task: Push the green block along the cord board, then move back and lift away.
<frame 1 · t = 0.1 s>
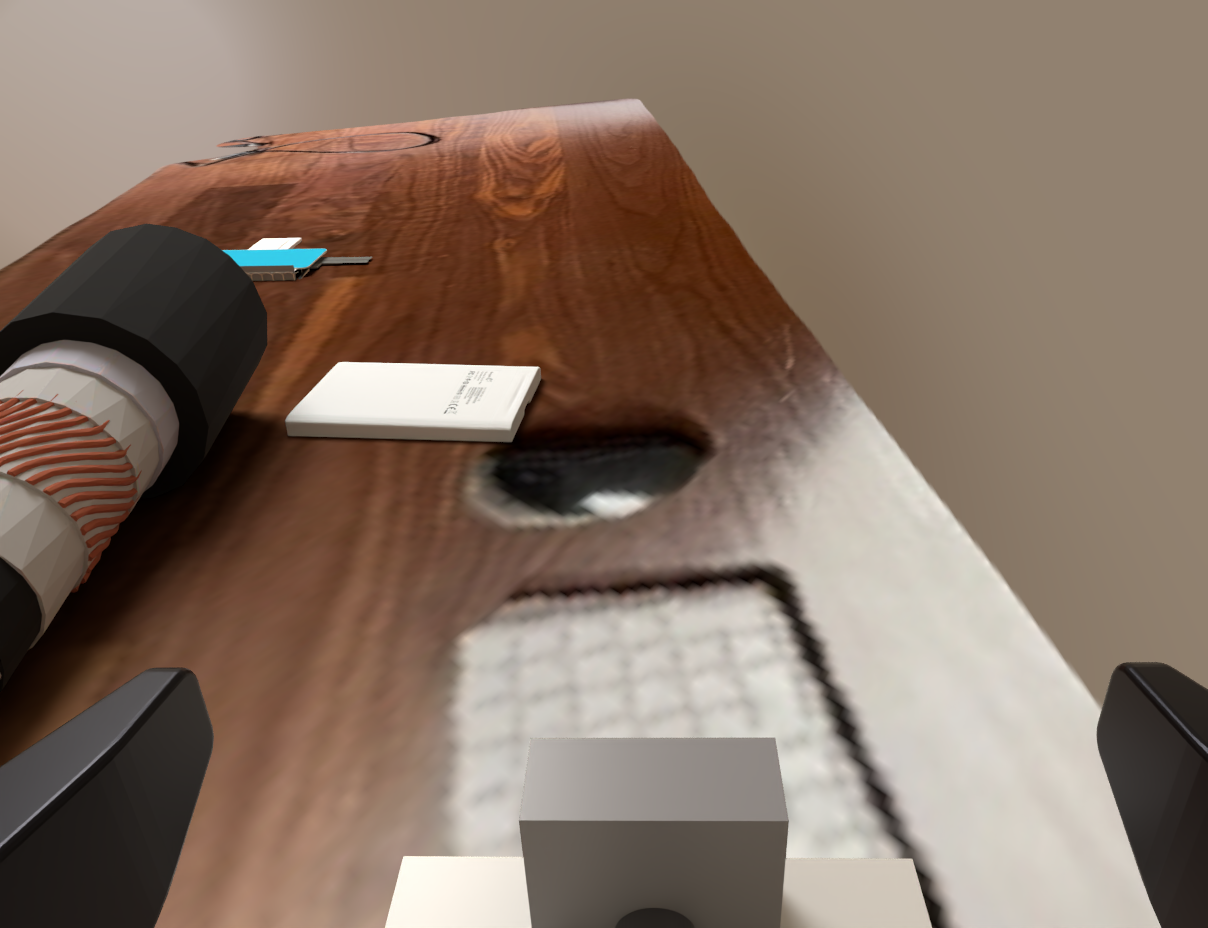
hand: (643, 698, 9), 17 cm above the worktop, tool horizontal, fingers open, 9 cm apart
banded black grey cylinder: (58, 592, 40), on the worktop
phone stand: (258, 268, 81), on the worktop
external hard drive: (422, 417, 55), on the worktop
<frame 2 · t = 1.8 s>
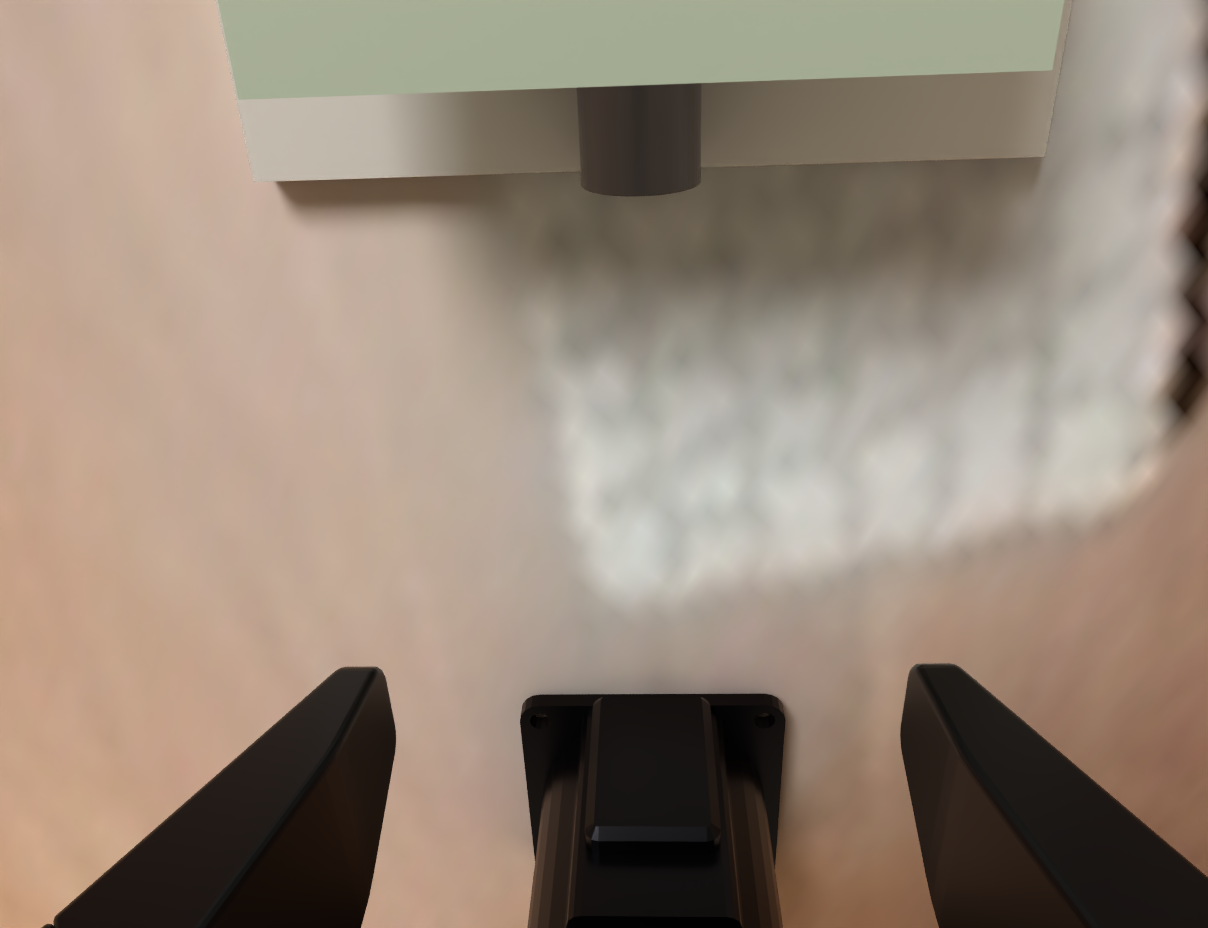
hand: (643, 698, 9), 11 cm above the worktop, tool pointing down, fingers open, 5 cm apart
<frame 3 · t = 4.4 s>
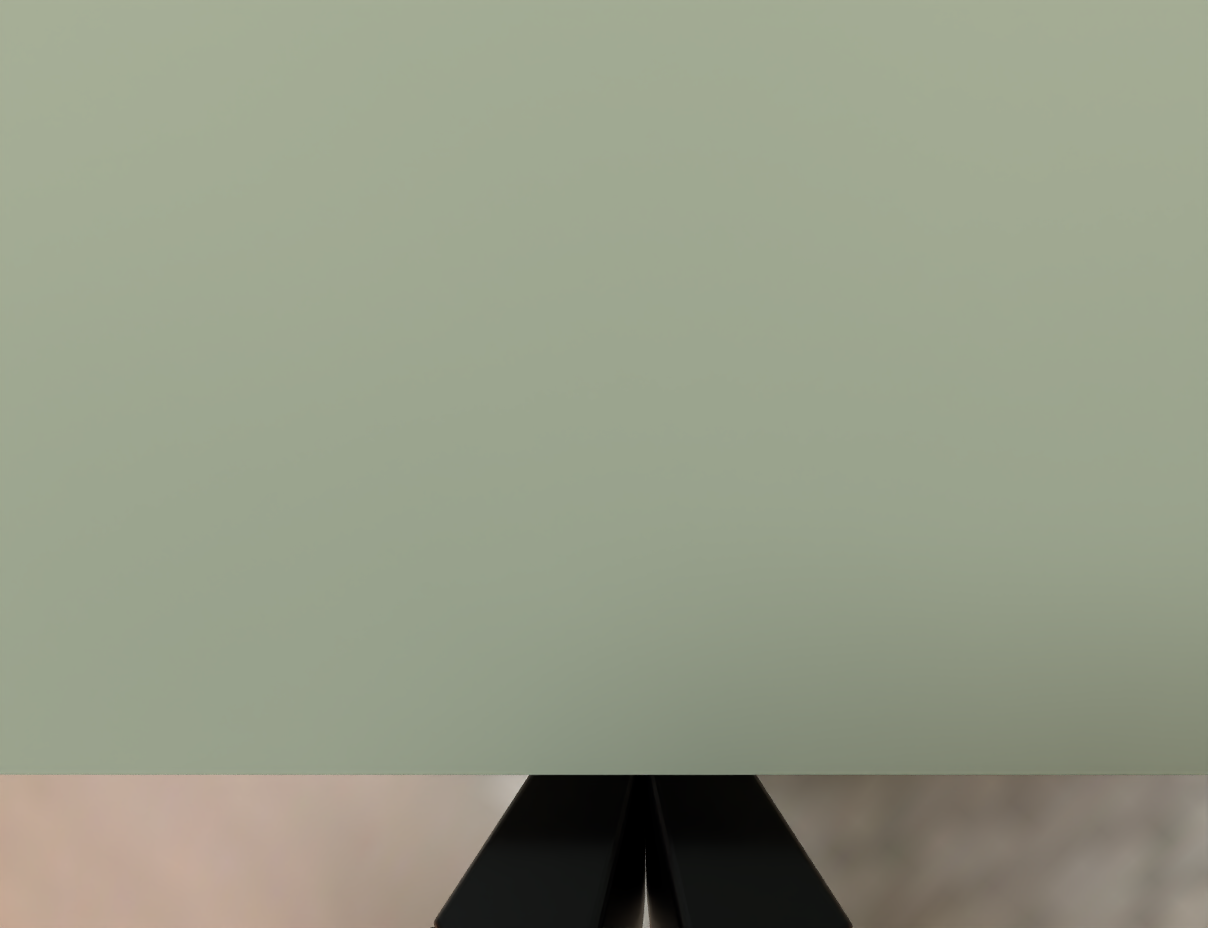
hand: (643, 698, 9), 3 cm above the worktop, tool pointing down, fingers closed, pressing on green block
green block: (634, 276, 7), point 3 cm above the worktop, slide at 1.3 cm, touching gripper
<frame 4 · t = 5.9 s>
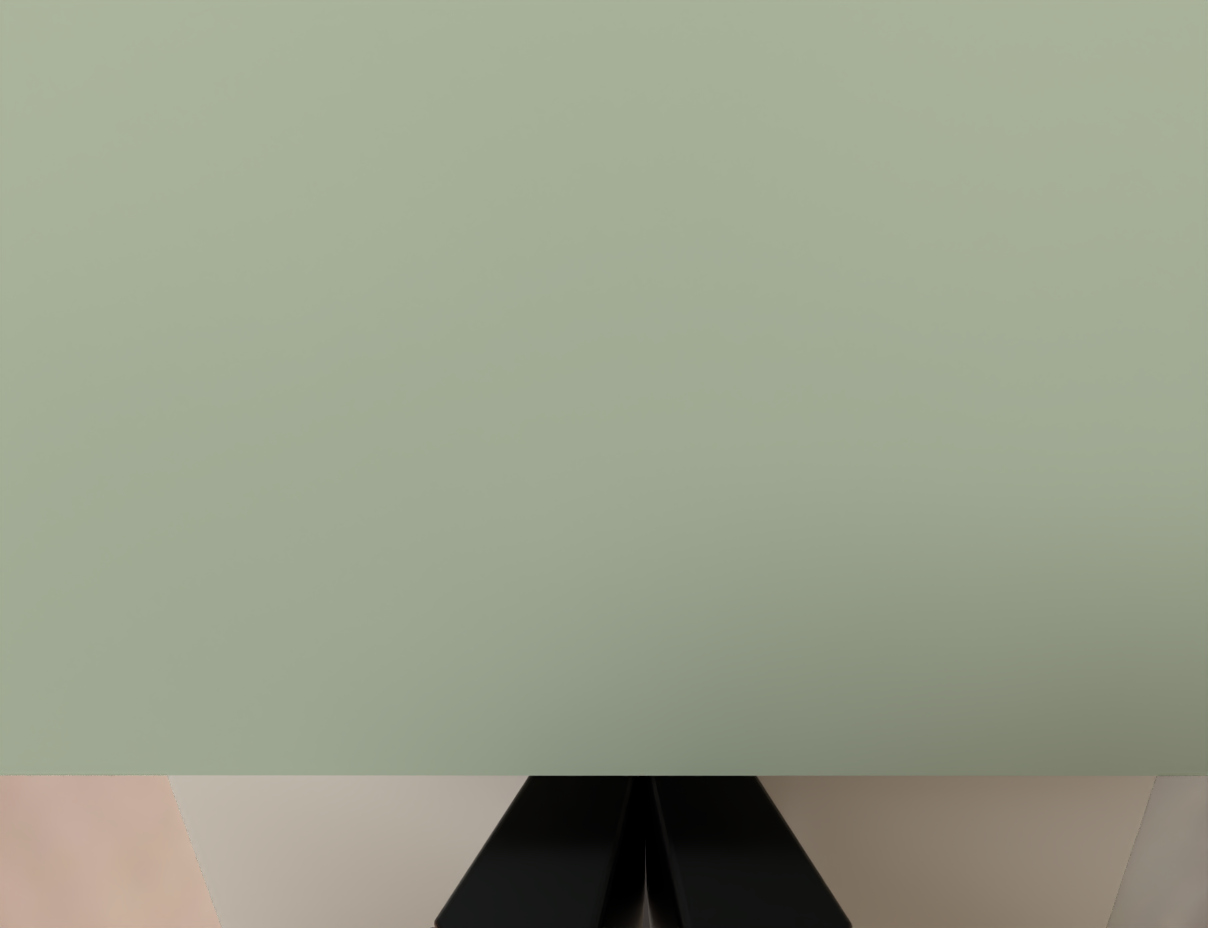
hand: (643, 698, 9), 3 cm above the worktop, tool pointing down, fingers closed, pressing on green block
cord board: (642, 453, 12), on the worktop
green block: (633, 274, 7), point 3 cm above the worktop, slide at 8.4 cm, touching gripper
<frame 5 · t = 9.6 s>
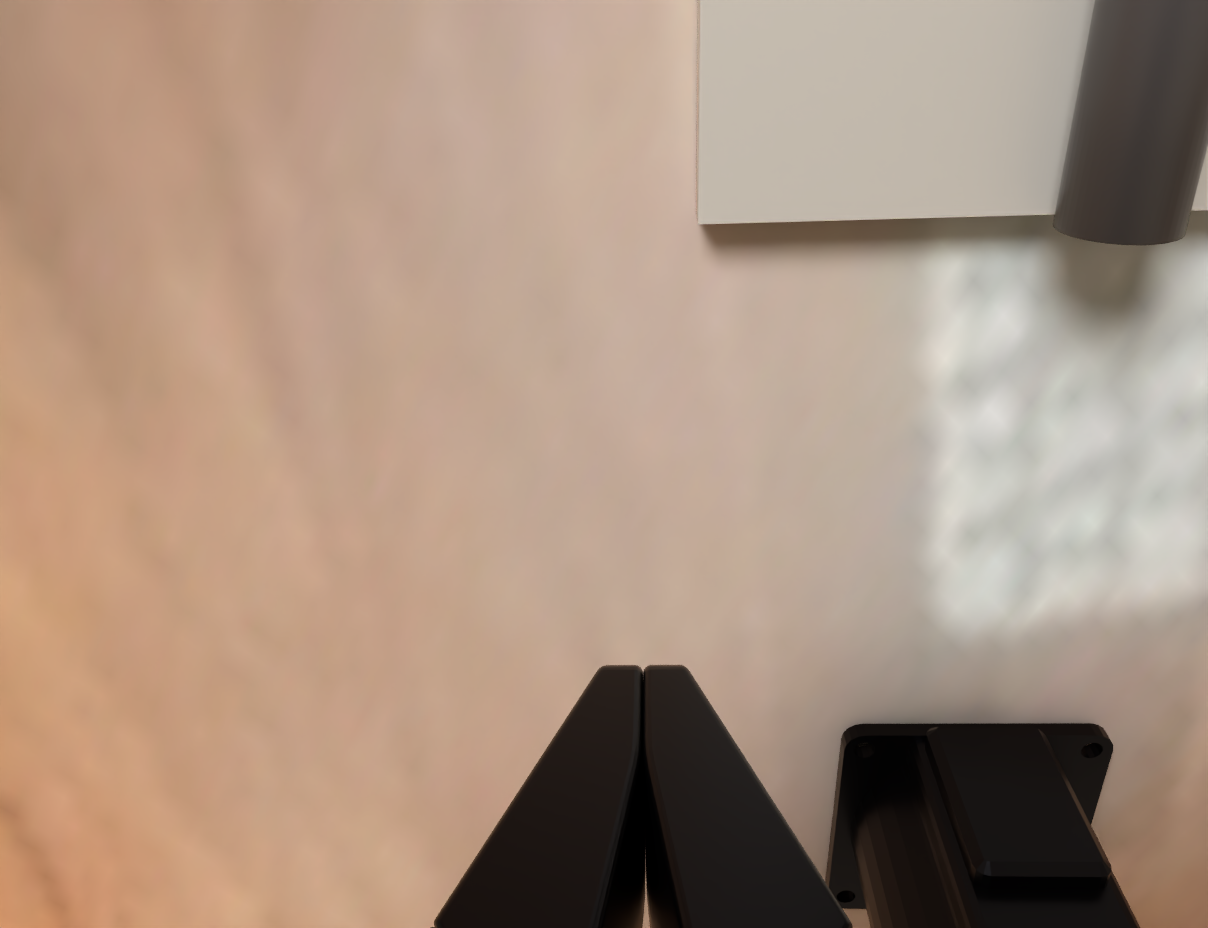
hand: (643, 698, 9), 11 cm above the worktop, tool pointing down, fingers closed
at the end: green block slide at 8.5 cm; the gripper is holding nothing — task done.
